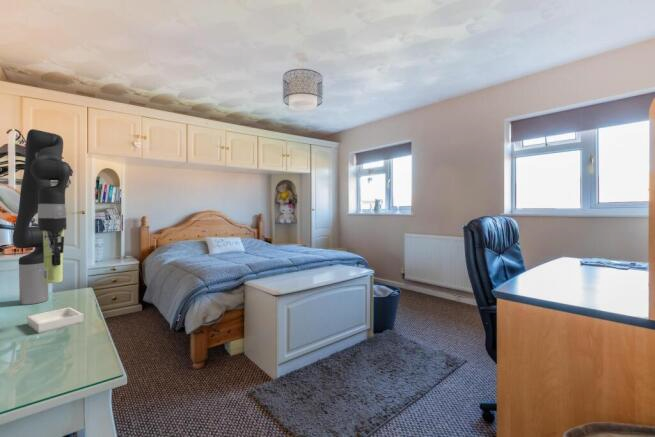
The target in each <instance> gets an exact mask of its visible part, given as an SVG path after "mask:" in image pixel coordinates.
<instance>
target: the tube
mask: <svg viewBox="0 0 655 437" xmlns="http://www.w3.org/2000/svg"><path fill="white" fill-rule="evenodd" d="M64 233H65V230H64V228H63V230H60V236H64V235H65V234H64ZM44 236H48V232H47V231H43V241H44V283H48V284H57V283H62V282H63V281H64V280H63V279H64V277H63V275H64V274H63V273H64V269H63V268H64V267H63V263H64V252H63V253H61V254H60V261H61V264H60V265H56V266H53V265H52V254H51V249H49V247H48V242H47V240H46V239H45V240H44ZM52 246H53V245H52ZM56 250H58V248H56Z"/></svg>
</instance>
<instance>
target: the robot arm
mask: <svg viewBox="0 0 655 437" xmlns="http://www.w3.org/2000/svg"><path fill="white" fill-rule="evenodd" d="M63 150H64V140H63V137H62V136H61V135H59V134H58V133H54V132H48V131H44V130H39V129H33V128H31V129H29V130H28V132H27V134H26V142H25V156H24V157H25V158H24V168H23V175H22V180H21V181H22V182H21V186H20V191H19V192H20V193H19V202H18V203H19V205H18V212H17V216H16V221H15V225H14V228H13V233H12V243H13V246H14V247H15V248H16V249H32V248H34V250H33V251H32V252H30V253H28V254H26V255H23V256H20V257H19V259H18V280H19V281H18V289H19V305H34V304H40V303H43V302H47V301H49V300H50V298H49V297H50V296H49V283H44V241H43V231H47V232H48V236H44V240H45V239H46V240H47V242H48V247H49V249H51V254H52V265H53V266H56V265H60V264H61V261H60V254H61V253H63V254H64V248H65V247H64V245H65V237H64V236H60V230H63V228H64V231H65V230H67V208H66V207H67V206H66V188H67V185H68V182H69V179H70V177H71V173H72V168H71V166H70V164H69V163H68V162H66V161H63V160H62V156H63V152H64V151H63ZM51 181H57V183H56V184H55V185H52V184H51ZM36 215H37V226H30V225H31V223H32V220H33V219H34V217H35V216H36ZM52 245H53V246H52ZM56 248H58V250H56Z"/></svg>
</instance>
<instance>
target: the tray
mask: <svg viewBox="0 0 655 437" xmlns="http://www.w3.org/2000/svg"><path fill="white" fill-rule="evenodd" d="M84 319H85V318H84V313H82V312H80V311H78V310H76V309H74V308H72V307H69V306H68V307H65V308H59V309H54V310H50V311H44V312H40V313H34V314H31V315H26V320H27V321H26V322H27V323H26V324H27V325H28V326H29V327H30V328H31V329H33V330H34V331H35V332H37V333H38V334H41V333H42V334H43V333H48V332H51V331H55V330H58V329H63V328H67V327H71V326H75V325H78V324H79V325H80V324H83V323H84V322H85V321H84Z"/></svg>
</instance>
